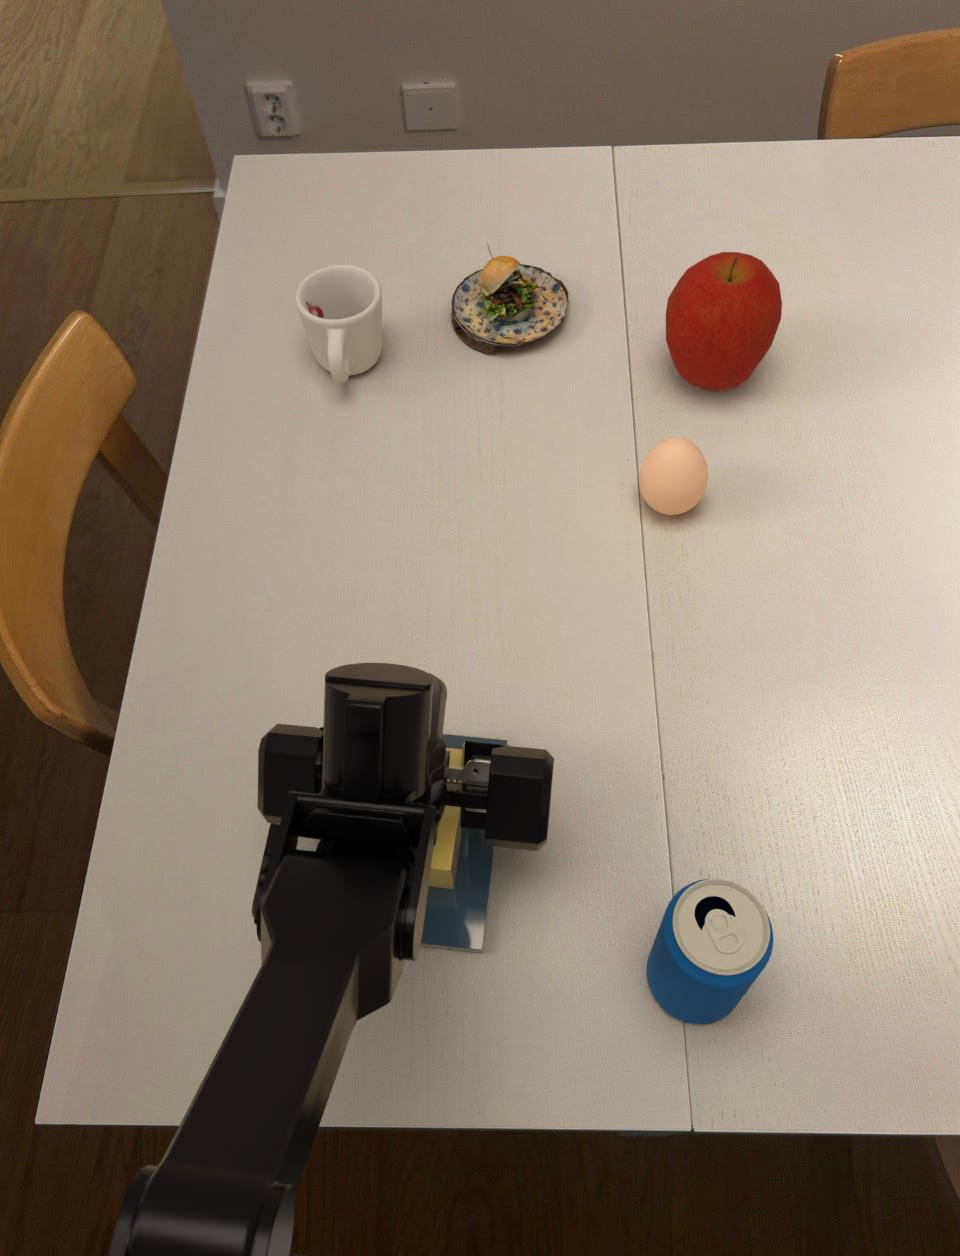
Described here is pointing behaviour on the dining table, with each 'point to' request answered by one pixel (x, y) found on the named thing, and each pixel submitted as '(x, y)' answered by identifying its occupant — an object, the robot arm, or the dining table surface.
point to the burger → (507, 304)
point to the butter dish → (458, 875)
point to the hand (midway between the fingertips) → (426, 744)
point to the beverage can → (708, 950)
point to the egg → (673, 476)
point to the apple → (722, 319)
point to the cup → (342, 318)
